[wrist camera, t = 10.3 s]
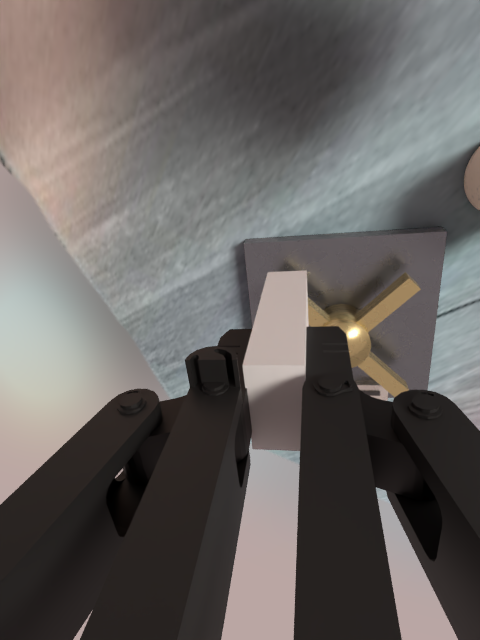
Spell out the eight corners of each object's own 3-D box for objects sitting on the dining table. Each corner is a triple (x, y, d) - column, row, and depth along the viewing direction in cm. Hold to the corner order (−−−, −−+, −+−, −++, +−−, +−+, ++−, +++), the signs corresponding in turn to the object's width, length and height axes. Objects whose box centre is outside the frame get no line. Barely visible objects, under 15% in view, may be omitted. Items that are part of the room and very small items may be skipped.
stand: (245, 239, 48) (241, 248, 45) (441, 226, 44) (452, 235, 41) (260, 387, 58) (258, 403, 55) (422, 388, 54) (429, 406, 51)
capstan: (342, 209, 43) (346, 222, 38) (464, 324, 46) (483, 350, 41) (227, 327, 52) (218, 350, 47) (338, 416, 55) (341, 446, 50)
